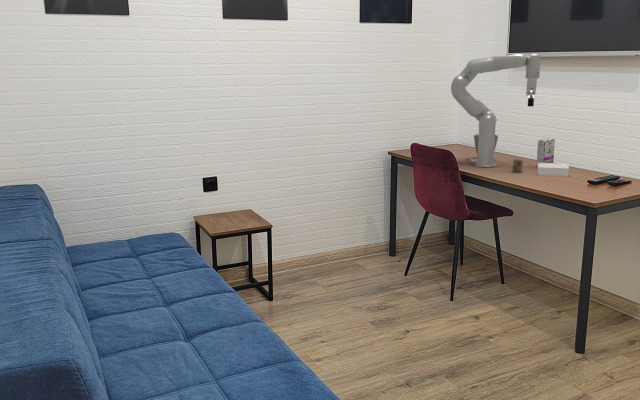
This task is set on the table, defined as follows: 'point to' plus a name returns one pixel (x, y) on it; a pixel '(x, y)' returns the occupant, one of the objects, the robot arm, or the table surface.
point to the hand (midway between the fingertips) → (530, 105)
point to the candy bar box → (545, 151)
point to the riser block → (553, 169)
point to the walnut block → (517, 165)
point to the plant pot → (476, 140)
